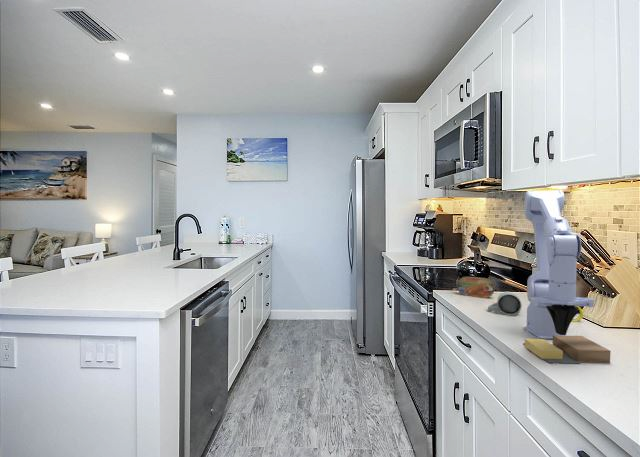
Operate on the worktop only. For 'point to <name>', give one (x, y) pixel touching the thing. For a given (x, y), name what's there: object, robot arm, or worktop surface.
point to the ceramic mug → (507, 304)
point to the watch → (579, 315)
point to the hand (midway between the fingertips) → (560, 333)
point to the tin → (475, 287)
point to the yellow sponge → (543, 349)
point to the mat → (562, 360)
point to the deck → (582, 349)
